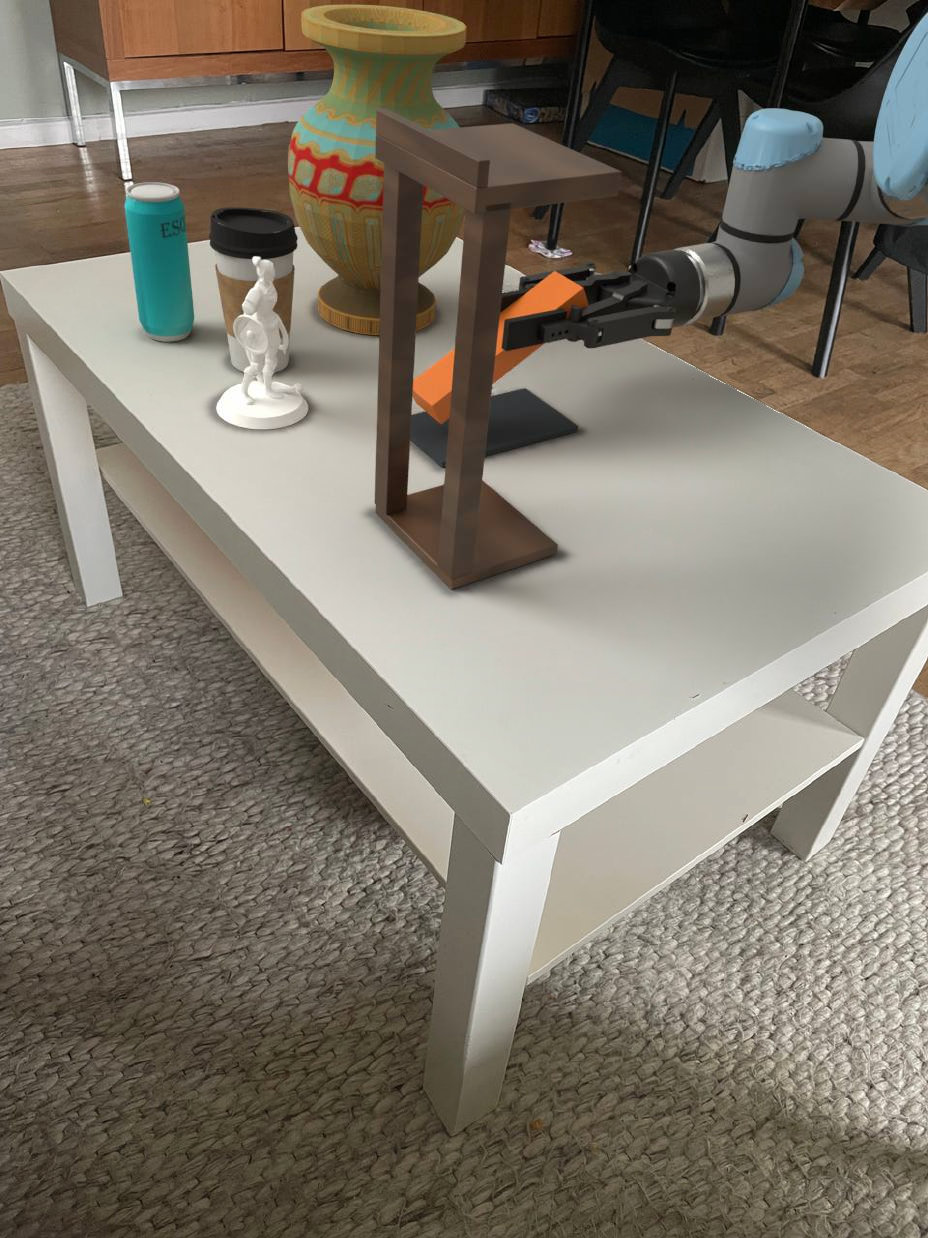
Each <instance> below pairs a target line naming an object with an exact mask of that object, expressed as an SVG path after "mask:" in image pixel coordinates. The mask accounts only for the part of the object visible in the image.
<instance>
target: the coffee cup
mask: <svg viewBox="0 0 928 1238" xmlns="http://www.w3.org/2000/svg"><path fill="white" fill-rule="evenodd" d="M209 218H210V229H209V232H210V233H209V234H208V239H209V246H210V247H211V249H212V250H214V254H215V255H214V256H215V261H216V263H215V265H214V267H215V269H214V270H215V273H216V280H217V286H218V291H219V292H218V293H219V296H220V297H219V298H220V302H221V309H222V315H223V321H224V326H225V331H226V335H227V341H228V349H229V355H230V362H231V364H232V366H233V367H234V369H236V370H237V371H240V372H243V373H244V370H245V369H246V368H247V367H249V366H251V364H250V362H249V359H248V356H247V353H246V350H245V348H244V347H243V346H242V345H241V344H240V343H239V342H238V340H237V339H236V337H235V334H234V331H233V323H234V321H235V319H236V318H237V317H238V316H240V315H244V311H243V309H242V307H243V306H242V304H243V303H244V301H245V298H246V296H247V294H248V293H249V291H250V290H251V289H252V288H254V286H255V284H256V283H257V281H258V278H259V276H258V274H257V267H256V266H255V265H254V264H253V260H252V259H253V257H254V256H255V257H260V258H261V261H262V260H268V261H270V262H272V263H273V266H274V269H275V276H274V278H273V279H274V281H273V285H274V287H275V289H276V292H277V301H276V304H275V306H274V308H273V312H275V313H276V314H278V315H279V317H280V319H281V321H282V323H283V325H284V327H285V329H286V331H287V334H288V339H289V344H288V347H287V349H286V353H285V354H284V350H280V349H278V351H277V354H276V357H277V366H276V367H275V372H274V373H273V374H276V373H278V372H280V371H283V370H285V369H286V368H287V367H288V365H289V361H290V342H291V340H290V339H291V327H292V311H293V299H294V283H295V269H296V267H295V265H294V252H295V251H296V250H297V248H298V242H297V241H298V234H297V233H296V228H295V227H296V226H295V222H294V220H293V218H292V217H291V216H289V215H287V214H285V213H283V212H279V211H276V210H275V211H274V210H270V209H263V208H257V207H256V208H255V207H240V206H239V207H232V206H231V207H220V208H217V209H215V210H214V211H213V212H211V214H210V217H209ZM278 328H279V327H278ZM279 335H280V338H281V343H280V345H283V336H282V332H281V330H280V328H279ZM263 362H264V363H265V357H264V360H263ZM264 365H265V364H264ZM261 373H262V375H263V372H261Z"/></svg>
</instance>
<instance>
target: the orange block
mask: <svg viewBox="0 0 928 1238" xmlns="http://www.w3.org/2000/svg"><path fill="white" fill-rule="evenodd" d="M553 271H554V272H553V273H551V274H550V275H549V276H548V277H546V278H545V279H544V280H542V281H541V282H540V283H538V284H537V285H536V286H535V287H533V288H532V289H531V290H529V291H528V292H527V293H526V294H524V295H523V296H522V297H520V298H519V299H518V300H516V301H515V302H514V303H513V304H511V305H510V306H509V307H507V308H506V309H505V310H504V311H502V312H501V313H500V318H499V327H498V337H497V346H496V355H495V365H494V374H493V384H492V385H494V384H495V383H496V382H498V380H500V379H502V378H503V377H504V376H505V375H507V374H508V373H509V372H510V371H512V370H513V369H514V368H516V367H517V366H518V365H520V364H521V363H522V362H523V361H524V360H526V359H528V357H529V356H531V355H532V354H533V353H535V352H536V351H537V350H539V349H540V348H541V347H542V346H544V345H545V344H546V343H544V344H539V345H534V346H529V347H525V348H520V349H515V350H511V351H505V350H503V349H502V339H503V330H504V321H505V319H510V318H515V317H520V316H525V315H530V314H536V313H541V312H546V311H551V310H557V309H562V308H563V309H564V310H566V311H567V316H566V318H569V317H570V311H571V305H572V304H574V305H573V307H574V306H575V305H576V306H578V307H580V308H583V307H586V306H589V305H588V302H587V298H586V295H585V291H584V288H583V287H581V286H580V285H578V284H576V283H574V282H573V281H571V280H569V279H568V278H566V277H564V276H563V275H561V274H559V273H558V272H556V270H553ZM454 353H455V347H454V348H453V349H452V350H450V351H449V352H447V353H446V354H445V355H444V356H443V357H441V358H440V359H439V360H437V361H436V362H435V363H433V365H431V366H429V368H427V369H426V370H425V371H424V372H422V373H420V374H419V375H418V376H416V377H415V378H413V395H412V399H413V400H414V402H415V404H416V405H417V406H418V407H420V408H421V409H422V410H423V412H427V413H428V414H429V415H430V416H432V417H433V418H434V419H435V420H436V421H438V422H439V423H440V424H443V423H444V422H445V421H446V420H448V419H449V417H450V404H451V391H452V379H453V366H454Z"/></svg>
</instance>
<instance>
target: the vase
mask: <svg viewBox="0 0 928 1238" xmlns="http://www.w3.org/2000/svg"><path fill="white" fill-rule="evenodd" d="M300 15H301V16H300V17H301V18H300V19H301V32H302V35H304V36H305V37H306V38H308V39H309V40H311V41H312V42H314V43H315V44H317V45H319V46H321V47H322V48H323V49H325V50H326V51H327V52H328V54H329V55H330V57H331V59H332V61H333V78H332V84H331V86H330V89H329V90H328V92H327V93H326V94H325V95H324V96H323V97H321V99H319V100H318V101H316V102H315V103H314V104H313V105H312V106H311V107H310V108H309V109H308V110H307V111H306V112H305V113H304V114H303V115H302V116H301V117H300V118H299V120H298V121H297V122H296V125H295V126H294V128H293V129H292V133H291V137H290V140H289V145H288V153H287V172H288V184H289V196H290V201H291V205H292V208H293V212H294V217H295V220H296V222H297V224H298V227H299V229H300V230H301V233H302V235H303V237H304V239H305V240H306V242H307V245H309V247H310V248H311V249H312V250H313V251H314V252H315V253H316V254H317V255H318V257H319V258H320V259H321V260H322V261H323V263H325V265H327V266H328V267H329V268H330V269H331V270H332V271H334V273H335V274H337V276H336V277H333V278H332V279H330V280H328V281H327V282H326V283H324V284H323V285H321V286H320V288H319V289H318V291H317V311H318V314H319V316H320V317H321V318H322V319H323V320H324V321H325V322H327V323H328V324H330V325H332V326H334V327H335V328H338V329H341V330H343V331H348V332H351V333H356V334H362V335H370V336H379V328H380V292H381V257H382V222H383V187H384V163H383V162H381V161H380V160H378V159H376V158H375V149H376V110H377V109H388V110H390V111H392V112H394V113H396V114H398V115H400V116H402V117H404V118H406V119H408V120H410V121H412V122H414V123H416V124H418V125H420V126H422V127H424V128H426V129H428V130H436V129H449V128H461V127H460V126H459V125H458V123H457V121H455V119H454V118H453V116H451V115H450V114H449V112H448V111H446V110H445V108H443V107H442V105H440V103H439V102H438V101H437V100H436V98H435V95H434V92H433V85H432V84H433V83H432V75H433V71H434V67H435V65H436V63H437V62H438V61H440V59H442V58H443V57H445V56H447V55H450V54H452V53H455V52H458V51H459V50H461V49H463V48H464V47H465V45H466V39H467V25H465V23H464V22H462V21H460V20H458V19H456V18H454V17H450V16H447V15H444V14H439V13H435V12H430V11H425V10H420V9H413V8H407V7H399V6H398V7H397V6H389V5H388V6H387V5H376V4H350V3H349V4H327V5H319V6H317V5H316V6H313V7H309V8H306V9H304V10H303V11H301V14H300ZM465 214H466V209H465V208H463V207H461V206H459V205H458V204H456V203H454V202H452V201H451V200H449V199H447V198H445V197H444V196H442V195H440V194H438V193H436V192H435V191H433V190H431V189H429V188H428V187H426V186H424V185H423V204H422V223H421V242H420V261H419V278H420V277H422V276H423V275H424V274H426V273H427V272H428V271H429V270H430V269H432V268H433V267H435V266H436V264H437V263H439V262H441V260H442V259H443V258H444V257H445V256H446V255H447V254H448V252H449V251H450V249H451V247H452V245H453V244H454V242H455V240H456V239H457V237H458V235H459V233H460V231H461V228H462V225H463V222H464V220H465ZM436 305H437V299H436V297H435V294H434V293H433V292H432V291H431V290H430V289H429V288H428V287H427V286H425V285H424V284H422V283H421V282H420V281H418V300H417V319H416V332H418V331H420V330H422V329H424V328H426V327H428V326H429V325H430V324H431V323H432V322H433V321H434V319H435V316H436Z"/></svg>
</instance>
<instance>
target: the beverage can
mask: <svg viewBox="0 0 928 1238" xmlns="http://www.w3.org/2000/svg"><path fill="white" fill-rule="evenodd" d="M180 193H181V192H180V189H179V188H178V187H177V186H175V185H173V184H170V183H165V182H157V181H146V182H138V183H134V184H130V185H128V186H127V187H126V189H125V194H126V199H125V202H124V212H125V220H126V227H127V228H126V229H127V236H128V243H129V251H130V259H131V267H132V275H133V281H134V290H135V298H136V305H137V306H136V307H137V313H138V319H139V322H140V324H141V326H142V328H143V330H144V332H145V333H146V335H147V336H148V337H149V338H150V339H152V340H154V341H157V342H163V343H170V342H171V343H173V342H179V341H182V340H184V339H186V338H188V337H189V335H190V334H191V331H192V329H193V325H194V322H195V309H194V298H193V287H192V277H191V265H190V256H189V255H190V254H189V244H188V234H187V224H186V223H187V222H186V213H185V204H184V203H183V200H182V199H181V196H180Z"/></svg>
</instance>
